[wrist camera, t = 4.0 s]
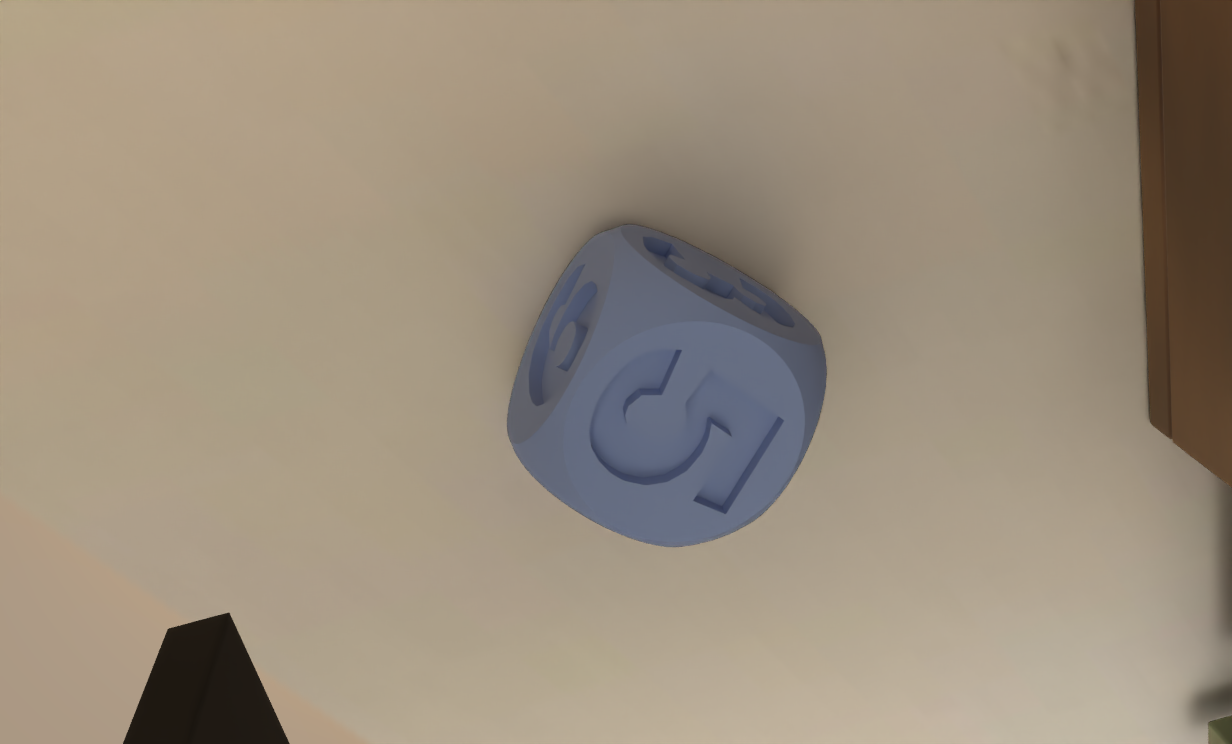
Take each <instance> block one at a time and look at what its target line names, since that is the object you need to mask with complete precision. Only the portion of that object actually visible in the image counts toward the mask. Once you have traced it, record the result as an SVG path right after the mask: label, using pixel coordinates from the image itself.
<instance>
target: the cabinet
mask: <svg viewBox="0 0 1232 744" xmlns="http://www.w3.org/2000/svg"><path fill="white" fill-rule="evenodd" d="M1135 13H1136V41H1137V68H1138V96H1139V124H1140V151H1141V179H1142V206H1143V234H1144V262H1145V289H1146V317H1147V345H1148V372H1149V400H1150V422H1151V424H1152V425H1153V426H1154V427H1155V428H1156V429H1158V430H1159V431H1160V432H1162V433H1163V434H1164V435H1165V436H1167V437H1168V438H1169V439H1172V441H1173V443H1175V444H1176V445H1177V446H1179V447H1180V448H1181V449H1182V450H1184V451H1185V452H1186V453H1188V454H1189V455H1190V456H1191V457H1193V458H1194V459H1195V460H1197V461H1198V462H1199V463H1201V464H1202V465H1203V466H1204V467H1206V468H1207V469H1208V470H1210V471H1211V472H1212V473H1213V474H1215V475H1216V476H1217V477H1219V478H1220V479H1221V480H1222V481H1224V482H1225V483H1226V484H1228V485H1229V486H1230V487H1231V488H1232V0H1135Z"/></svg>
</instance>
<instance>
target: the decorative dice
mask: <svg viewBox="0 0 1232 744" xmlns="http://www.w3.org/2000/svg"><path fill="white" fill-rule="evenodd" d="M826 376H827V367H826V357H825V352H824V348H823V344H822V339H821V336H820V334H819V332H818V331H817V330H816V328H815V327H814V326H813V325H812V324H811V323H810V322H809V321H808V320H807V319H806V318H805V317H804V316H803V315H801V314H800V313H799V312H798V311H797V310H796V309H794V308H793V307H792V306H791V305H789V304H788V303H787V302H785V301H784V300H783V299H781V298H780V297H779V296H777V295H776V294H774V293H773V292H771V291H770V290H769V289H767V288H766V287H764V286H763V285H761V284H759V283H758V282H756V281H755V280H753V279H752V278H750V277H748V276H747V275H745V274H744V273H742V272H740V271H739V270H737V269H735V268H733V267H732V266H730V265H728V264H726V263H725V262H723V261H721V260H719V259H717V258H716V257H714V256H712V255H710V254H708V253H706V252H704V251H702V250H700V249H698V248H696V247H694V246H692V245H690V244H688V243H686V242H683V241H681V240H679V239H677V238H674V237H672V236H669V235H667V234H664V233H662V232H659V231H656V230H653V229H650V228H647V227H643V226H639V225H633V224H626V225H622V226H619V227H616V228H613V229H610V230H607V231H604V232H601V233H599V234H597V235H595V236H594V237H593V238H591V239H590V240H589V241H588V242H587V243H586V244H585V245H584V246H583V247H582V248H581V249H580V251H579V252H578V253H577V254H576V256H575V257H574V258H573V259H572V261H571V262H570V264H569V265H568V267H567V268H566V270H565V271H564V273H563V274H562V276H561V277H560V279H559V281H558V282H557V284H556V286H555V288H554V289H553V291H552V293H551V295H550V297H549V298H548V300H547V302H546V304H545V306H544V308H543V310H542V312H541V314H540V316H539V318H538V321H537V323H536V325H535V327H534V329H533V332H532V334H531V336H530V339H529V341H528V344H527V346H526V349H525V351H524V354H523V357H522V360H521V362H520V366H519V369H518V372H517V375H516V378H515V382H514V385H513V389H512V393H511V398H510V403H509V408H508V416H507V431H508V436H509V439H510V441H511V444H512V446H513V449H514V451H515V453H516V455H517V457H518V458H519V460H520V461H521V463H522V464H523V465H524V467H525V468H526V469H527V470H528V471H529V473H530V474H531V475H532V476H533V477H534V478H535V479H536V480H537V481H538V482H539V483H540V484H541V485H542V486H543V487H545V488H546V489H547V490H548V491H549V492H550V493H552V494H553V495H554V496H555V497H557V498H558V499H559V500H561V501H562V502H564V503H565V504H566V505H568V506H569V507H571V508H572V509H574V510H575V511H577V512H578V513H580V514H582V515H583V516H585V517H587V518H588V519H590V520H592V521H594V522H596V523H597V524H599V525H601V526H603V527H605V528H607V529H610V530H612V531H614V532H616V533H619V534H621V535H624V536H626V537H629V538H632V539H635V540H638V541H641V542H644V543H648V544H652V545H658V546H664V547H683V546H690V545H695V544H700V543H704V542H708V541H711V540H715V539H717V538H720V537H723V536H725V535H728V534H730V533H732V532H735V531H737V530H738V529H740V528H742V527H744V526H746V525H748V524H749V523H751V522H753V521H754V520H755V519H757V518H758V517H759V516H761V515H762V514H763V513H764V512H765V511H766V510H767V509H768V508H769V507H770V506H771V505H772V504H773V503H774V502H775V500H776V499H777V498H778V497H779V496H780V494H781V493H782V492H783V490H784V489H785V488H786V486H787V485H788V483H789V482H790V480H791V479H792V477H793V475H794V474H795V472H796V470H797V469H798V467H799V465H800V463H801V461H802V459H803V457H804V455H805V453H806V451H807V449H808V446H809V444H810V442H811V439H812V437H813V434H814V432H815V429H816V426H817V423H818V420H819V416H820V413H821V409H822V405H823V400H824V394H825V388H826Z"/></svg>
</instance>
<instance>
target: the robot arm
mask: <svg viewBox="0 0 1232 744" xmlns="http://www.w3.org/2000/svg"><path fill="white" fill-rule="evenodd" d="M123 744H289V742H288V739H287V737H286V735H285V733H284V731H283V729H282V726H281V724H280V722H279V720H278V718H277V716H276V713H275V712H274V709H273V707H272V705H271V702H270V700H269V698H268V696H267V694H266V692H265V689H264V687H263V685H262V683H261V681H260V678H259V676H258V674H257V672H256V670H255V668H254V665H253V663H252V661H251V659H250V657H249V655H248V652H247V650H246V648H245V646H244V644H243V642H242V639H241V637H240V635H239V633H238V631H237V628H236V626H235V624H234V622H233V620H232V618H231V615H230V613H225V614H222V615H218V616H214V617H210V618H207V619H203V620H199V621H195V622H192V623H188V624H184V625H181V626H177V627H174V628H169V629H168V630H167V633H166V635H165V638H164V640H163V643H162V645H161V648H160V650H159V653H158V656H157V658H156V661H155V663H154V666H153V668H152V671H151V673H150V676H149V679H148V682H147V684H146V686H145V689H144V691H143V694H142V697H141V699H140V701H139V704H138V707H137V709H136V712H135V714H134V717H133V719H132V722H131V724H130V727H129V730H128V732H127V735H126V737H125V740H124V742H123Z"/></svg>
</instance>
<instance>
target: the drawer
mask: <svg viewBox="0 0 1232 744" xmlns="http://www.w3.org/2000/svg"><path fill="white" fill-rule="evenodd" d="M1208 744H1232V715H1231V716H1228V717H1224V718H1221V719H1217V720H1214V721H1210V722H1209V723H1208Z"/></svg>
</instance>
